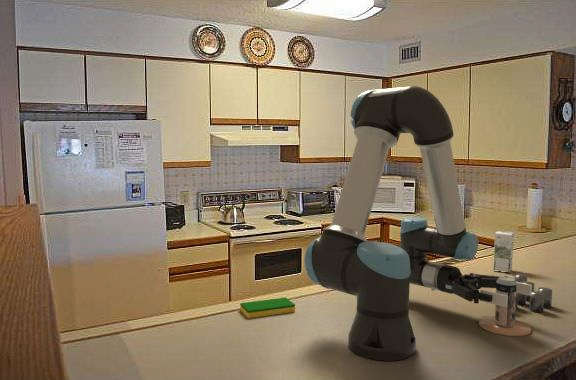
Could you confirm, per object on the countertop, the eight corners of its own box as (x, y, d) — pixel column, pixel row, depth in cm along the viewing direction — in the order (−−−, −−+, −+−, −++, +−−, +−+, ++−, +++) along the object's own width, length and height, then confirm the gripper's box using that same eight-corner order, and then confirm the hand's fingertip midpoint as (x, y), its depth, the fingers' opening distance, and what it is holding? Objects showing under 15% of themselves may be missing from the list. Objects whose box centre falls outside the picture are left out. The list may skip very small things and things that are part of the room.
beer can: (513, 329, 120) (515, 282, 119) (493, 325, 123) (495, 279, 122) (516, 323, 124) (518, 277, 123) (496, 320, 127) (498, 275, 126)
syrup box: (512, 270, 180) (514, 231, 179) (509, 273, 175) (511, 234, 174) (495, 268, 183) (497, 230, 182) (493, 271, 178) (494, 232, 177)
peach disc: (504, 339, 116) (504, 336, 116) (469, 321, 127) (469, 319, 127) (542, 332, 120) (542, 330, 120) (505, 316, 131) (505, 314, 131)
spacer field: (477, 305, 140) (478, 288, 140) (517, 288, 157) (517, 273, 157) (530, 319, 130) (531, 301, 129) (566, 299, 146) (567, 283, 146)
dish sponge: (240, 311, 136) (239, 302, 136) (285, 305, 141) (285, 297, 141) (247, 319, 129) (247, 310, 129) (295, 313, 135) (295, 304, 135)
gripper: (464, 282, 145) (539, 300, 129) (416, 300, 129) (495, 322, 113) (465, 257, 144) (540, 272, 128) (417, 272, 128) (496, 290, 112)
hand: (519, 295), depth 120 cm, fingers open, 13 cm apart
